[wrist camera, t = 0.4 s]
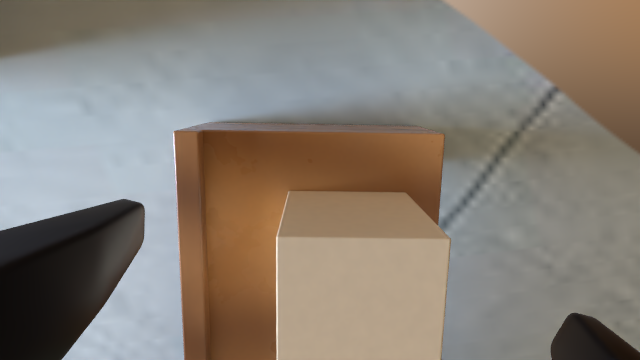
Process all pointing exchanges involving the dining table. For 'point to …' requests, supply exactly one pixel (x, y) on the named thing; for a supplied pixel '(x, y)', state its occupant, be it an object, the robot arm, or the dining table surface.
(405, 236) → the cream block
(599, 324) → the robot arm
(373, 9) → the dining table surface
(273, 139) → the shelf
